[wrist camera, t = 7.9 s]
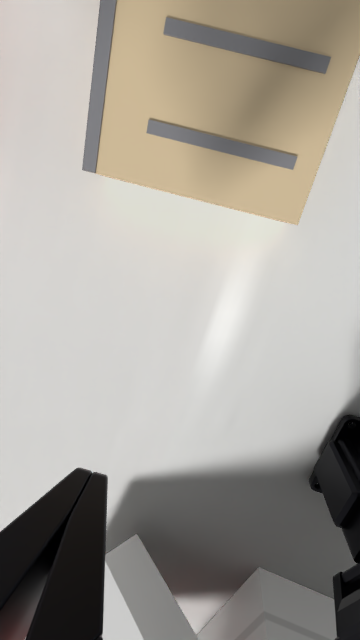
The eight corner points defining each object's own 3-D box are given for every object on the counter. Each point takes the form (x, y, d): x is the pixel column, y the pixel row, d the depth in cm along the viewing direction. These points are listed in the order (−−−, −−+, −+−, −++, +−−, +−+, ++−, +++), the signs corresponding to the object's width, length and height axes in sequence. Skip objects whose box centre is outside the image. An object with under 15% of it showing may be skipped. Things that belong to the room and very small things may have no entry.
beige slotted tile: (357, 9, 13) (397, -46, 10) (284, 222, 16) (298, 225, 14) (134, -44, 13) (112, -113, 11) (105, 176, 17) (82, 169, 14)
